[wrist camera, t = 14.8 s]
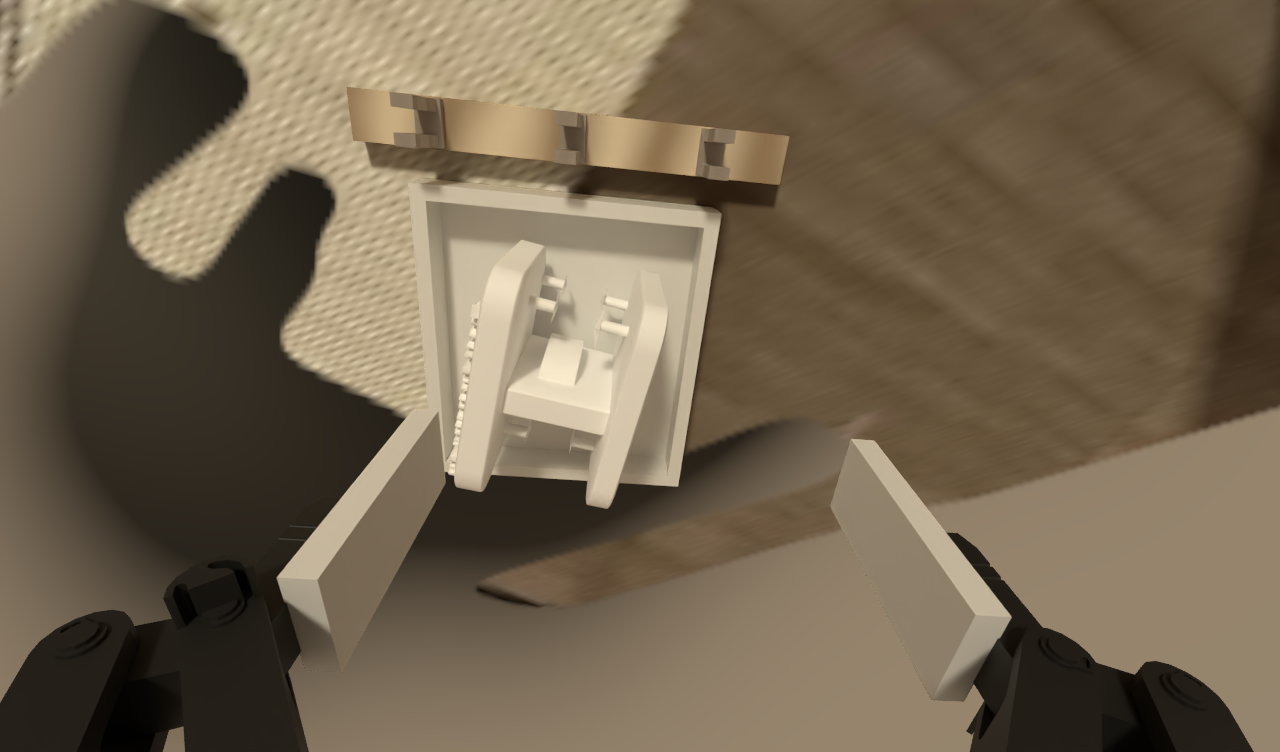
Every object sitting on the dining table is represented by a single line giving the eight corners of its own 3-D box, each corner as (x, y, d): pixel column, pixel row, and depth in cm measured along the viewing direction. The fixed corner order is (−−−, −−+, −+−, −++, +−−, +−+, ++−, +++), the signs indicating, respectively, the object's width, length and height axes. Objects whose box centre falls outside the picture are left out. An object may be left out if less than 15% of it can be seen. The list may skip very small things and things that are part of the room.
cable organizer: (610, 436, 43) (606, 532, 33) (486, 409, 42) (439, 500, 31) (661, 268, 37) (675, 319, 27) (518, 228, 36) (473, 266, 25)
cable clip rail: (782, 136, 34) (812, 136, 29) (773, 183, 36) (800, 191, 30) (358, 89, 33) (304, 79, 27) (364, 140, 34) (314, 140, 28)
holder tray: (713, 207, 36) (721, 213, 33) (674, 462, 46) (678, 486, 42) (427, 178, 35) (408, 182, 32) (447, 447, 44) (433, 471, 41)
